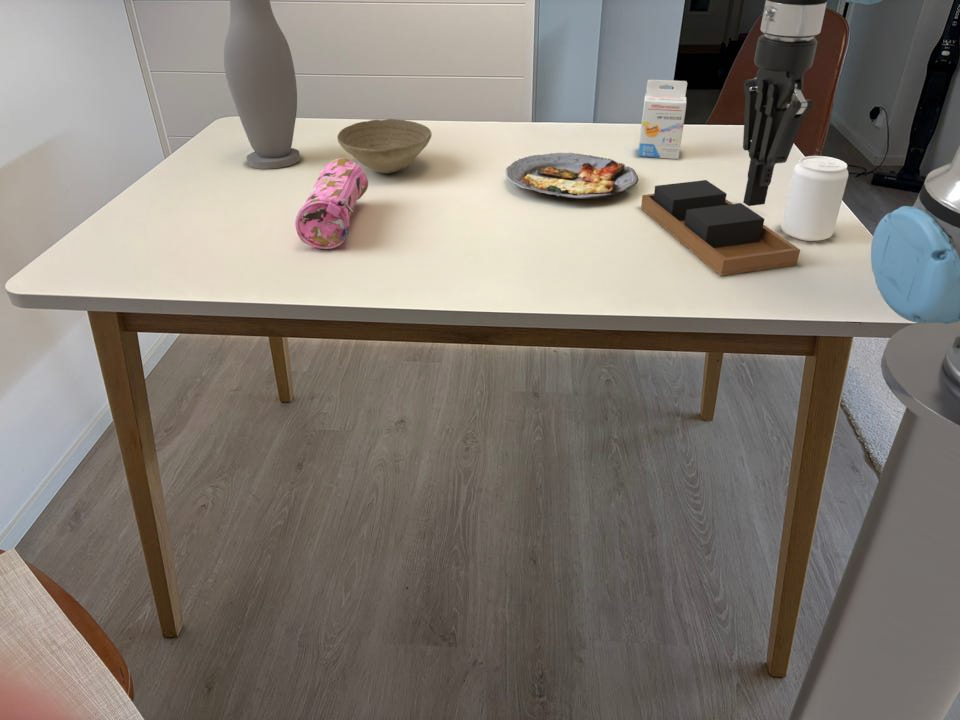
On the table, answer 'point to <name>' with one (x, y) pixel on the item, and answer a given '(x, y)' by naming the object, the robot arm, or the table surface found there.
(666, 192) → the pad
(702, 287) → the table surface
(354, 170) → the pencil case
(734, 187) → the table surface
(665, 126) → the ink box
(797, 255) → the tray
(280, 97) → the vase
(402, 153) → the bowl
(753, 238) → the black pad
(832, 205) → the beverage can
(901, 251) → the robot arm
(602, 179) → the food plate
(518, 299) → the table surface
